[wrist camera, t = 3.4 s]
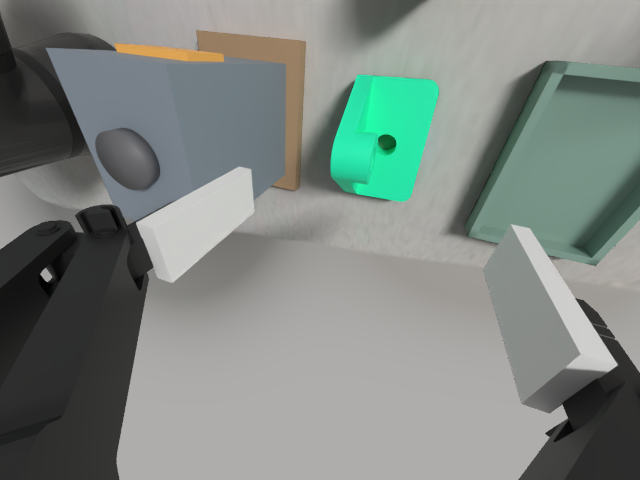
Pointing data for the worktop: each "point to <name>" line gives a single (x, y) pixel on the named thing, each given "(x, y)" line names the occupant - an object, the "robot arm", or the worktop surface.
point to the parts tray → (569, 164)
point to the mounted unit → (187, 114)
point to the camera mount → (376, 120)
